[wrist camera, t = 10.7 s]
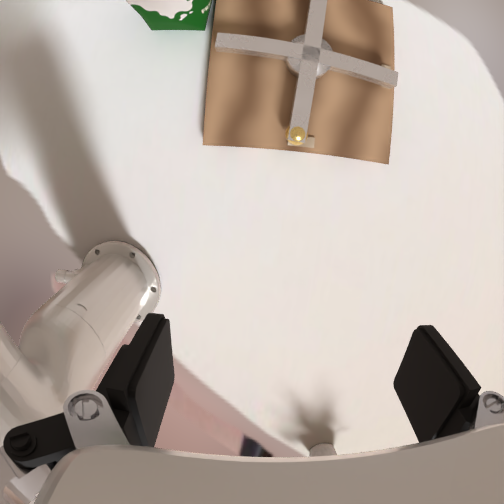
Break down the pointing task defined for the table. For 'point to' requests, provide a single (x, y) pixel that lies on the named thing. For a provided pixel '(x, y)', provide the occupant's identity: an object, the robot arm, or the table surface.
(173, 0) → the milk carton
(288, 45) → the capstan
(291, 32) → the stand plate
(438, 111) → the table surface
